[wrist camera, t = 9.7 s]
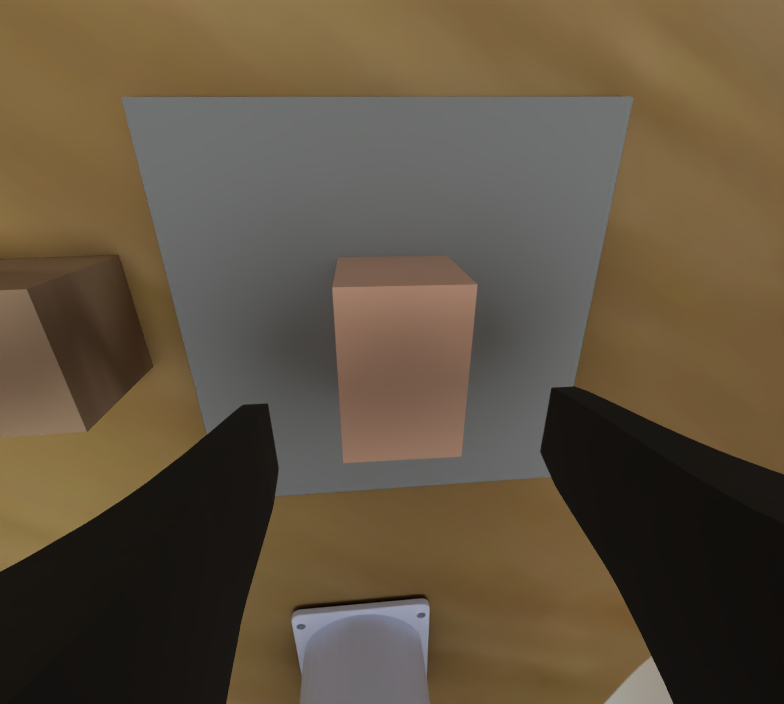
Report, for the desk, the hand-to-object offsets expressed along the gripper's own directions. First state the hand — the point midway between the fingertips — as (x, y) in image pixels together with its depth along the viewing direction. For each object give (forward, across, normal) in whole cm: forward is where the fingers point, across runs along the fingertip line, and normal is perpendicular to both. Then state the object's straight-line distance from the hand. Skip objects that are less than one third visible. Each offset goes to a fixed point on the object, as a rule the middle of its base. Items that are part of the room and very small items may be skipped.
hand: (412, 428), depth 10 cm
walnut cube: (+7, +12, -1) cm, 14 cm away
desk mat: (+7, 0, 0) cm, 7 cm away
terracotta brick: (+6, 0, 0) cm, 6 cm away
